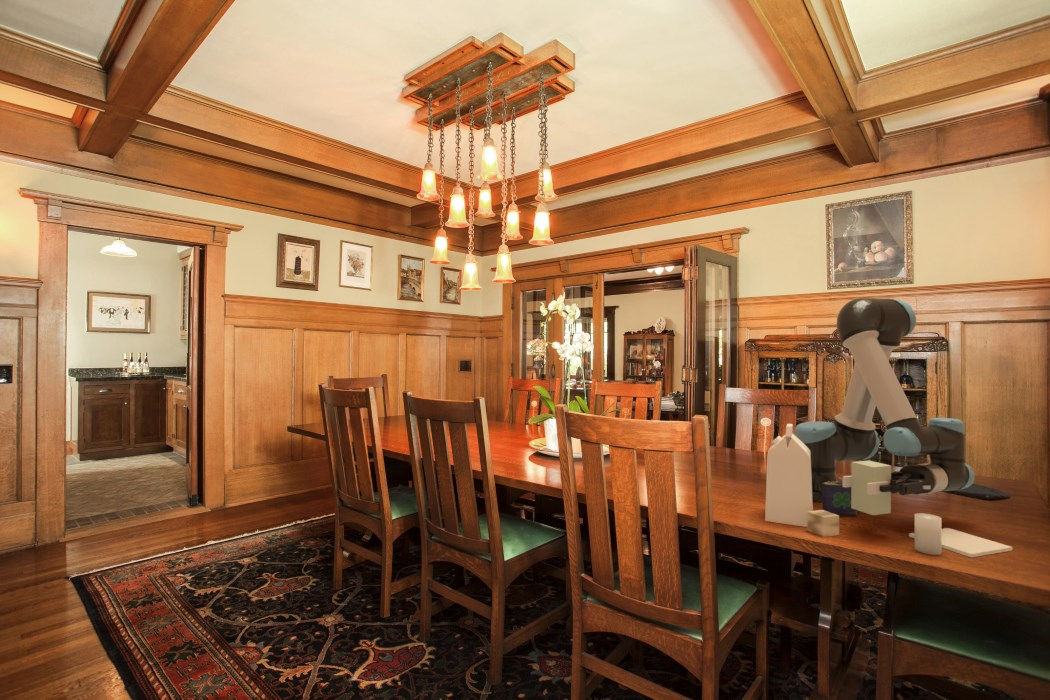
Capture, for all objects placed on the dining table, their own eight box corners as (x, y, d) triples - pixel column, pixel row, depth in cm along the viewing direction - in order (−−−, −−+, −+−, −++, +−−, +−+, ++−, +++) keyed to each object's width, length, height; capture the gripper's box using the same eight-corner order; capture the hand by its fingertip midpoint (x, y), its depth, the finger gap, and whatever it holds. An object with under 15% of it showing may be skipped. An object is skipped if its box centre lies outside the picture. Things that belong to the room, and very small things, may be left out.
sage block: (851, 508, 136) (851, 462, 136) (868, 506, 138) (869, 460, 138) (872, 515, 130) (873, 467, 130) (890, 513, 132) (891, 465, 132)
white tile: (909, 536, 132) (909, 533, 132) (948, 530, 136) (948, 527, 136) (971, 557, 118) (971, 554, 118) (1012, 550, 123) (1012, 547, 123)
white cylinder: (909, 548, 124) (909, 514, 124) (924, 545, 126) (924, 512, 126) (931, 555, 119) (931, 520, 119) (946, 553, 121) (946, 518, 121)
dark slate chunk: (986, 503, 162) (986, 488, 162) (912, 486, 183) (912, 473, 183) (1016, 498, 168) (1016, 484, 168) (940, 482, 188) (940, 469, 188)
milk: (812, 527, 138) (812, 429, 139) (765, 520, 144) (765, 426, 144) (813, 515, 149) (813, 424, 149) (768, 509, 155) (768, 421, 155)
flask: (853, 513, 151) (853, 476, 151) (859, 516, 148) (859, 478, 148) (820, 513, 151) (820, 476, 151) (826, 516, 148) (825, 478, 148)
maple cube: (807, 530, 136) (807, 511, 136) (822, 528, 138) (822, 509, 138) (823, 537, 132) (823, 517, 132) (839, 535, 133) (839, 515, 133)
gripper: (960, 503, 131) (892, 511, 123) (887, 483, 149) (823, 490, 142) (961, 473, 130) (892, 480, 123) (887, 457, 149) (824, 462, 141)
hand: (855, 485), depth 132 cm, fingers closed on sage block, 6 cm apart
